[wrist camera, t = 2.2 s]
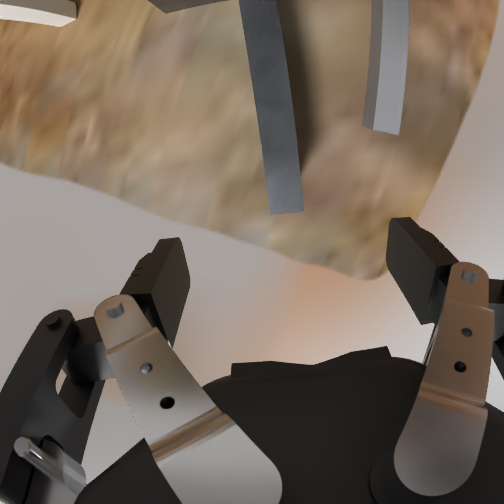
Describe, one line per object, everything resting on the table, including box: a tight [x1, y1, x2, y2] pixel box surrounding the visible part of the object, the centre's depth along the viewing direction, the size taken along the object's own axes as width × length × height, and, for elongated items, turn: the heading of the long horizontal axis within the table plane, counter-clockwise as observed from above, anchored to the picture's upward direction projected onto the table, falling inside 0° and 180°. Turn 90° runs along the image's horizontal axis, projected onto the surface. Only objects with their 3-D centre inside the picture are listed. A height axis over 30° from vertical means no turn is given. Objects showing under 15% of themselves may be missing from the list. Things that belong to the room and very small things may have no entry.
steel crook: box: [148, 0, 304, 215], centre depth 20 cm, size 9×20×6 cm, turn 8°
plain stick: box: [362, 0, 409, 135], centre depth 18 cm, size 2×20×3 cm, turn 176°
